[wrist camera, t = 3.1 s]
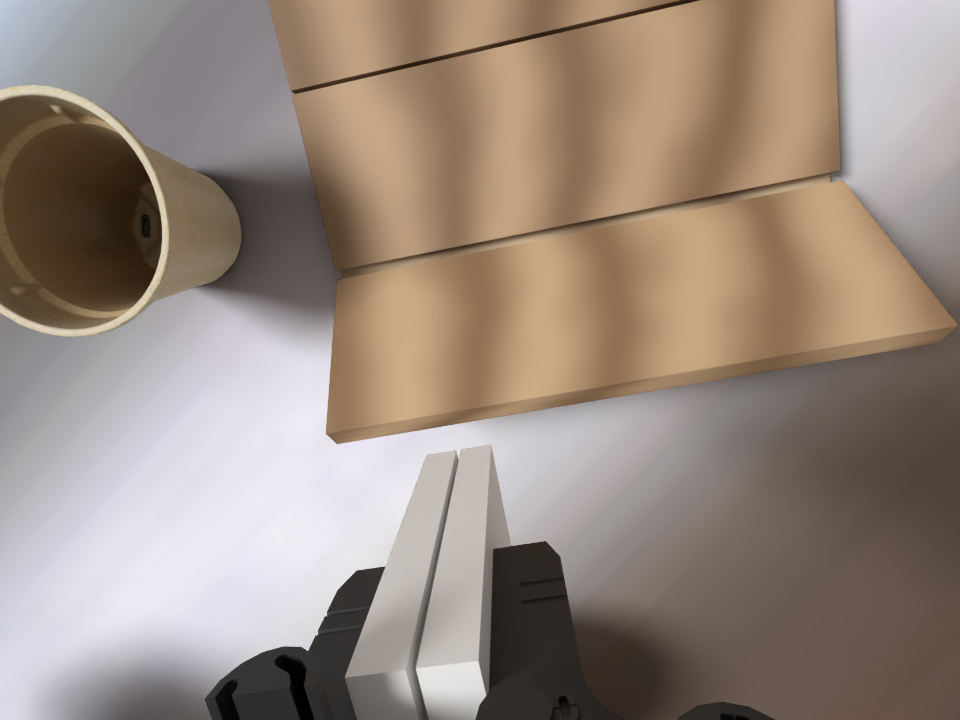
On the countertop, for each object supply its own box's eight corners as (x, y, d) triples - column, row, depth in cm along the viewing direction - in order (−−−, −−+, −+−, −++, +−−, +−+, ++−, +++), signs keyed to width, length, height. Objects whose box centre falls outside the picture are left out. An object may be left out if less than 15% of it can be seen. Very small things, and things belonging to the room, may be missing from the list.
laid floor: (345, 282, 28) (338, 283, 27) (252, -97, 24) (239, -114, 23) (825, 187, 26) (841, 184, 24) (807, -245, 22) (824, -273, 21)
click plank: (337, 444, 22) (325, 433, 21) (346, 294, 27) (337, 279, 26) (939, 342, 20) (958, 325, 19) (832, 199, 25) (842, 180, 24)
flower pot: (75, 174, 27) (-117, 140, 19) (226, 109, 26) (94, 42, 18) (154, 333, 29) (11, 367, 20) (298, 279, 28) (210, 292, 19)
